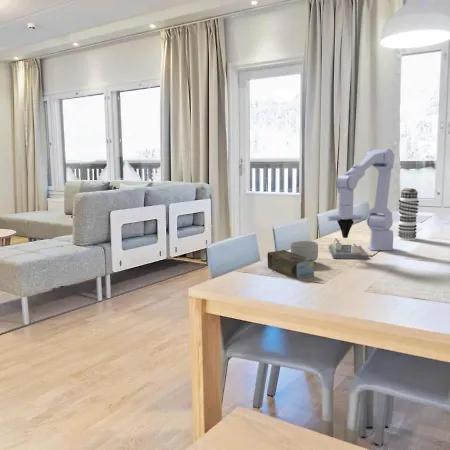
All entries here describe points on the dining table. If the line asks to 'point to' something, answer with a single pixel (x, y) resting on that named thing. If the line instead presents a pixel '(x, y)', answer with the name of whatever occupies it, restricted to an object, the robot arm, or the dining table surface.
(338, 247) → the breaker
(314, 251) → the teacup
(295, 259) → the beverage carton
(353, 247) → the breaker
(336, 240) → the breaker
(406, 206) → the decorative candle
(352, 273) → the dining table surface
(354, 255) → the panel
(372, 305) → the dining table surface
